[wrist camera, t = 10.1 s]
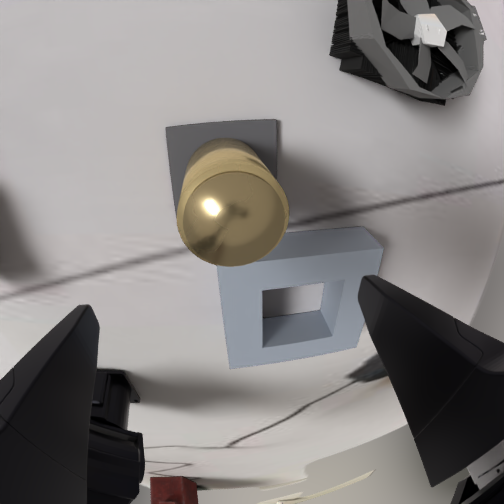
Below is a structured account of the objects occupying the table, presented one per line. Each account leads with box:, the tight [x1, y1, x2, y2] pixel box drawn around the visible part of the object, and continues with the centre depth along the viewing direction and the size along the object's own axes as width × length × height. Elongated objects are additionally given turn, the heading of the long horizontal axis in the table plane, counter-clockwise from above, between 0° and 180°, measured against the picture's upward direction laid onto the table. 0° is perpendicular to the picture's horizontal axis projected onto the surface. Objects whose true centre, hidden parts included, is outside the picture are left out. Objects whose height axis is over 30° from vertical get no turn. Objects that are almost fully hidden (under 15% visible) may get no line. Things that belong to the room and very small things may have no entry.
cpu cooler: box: [329, 0, 487, 106], centre depth 12 cm, size 10×6×10 cm
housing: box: [217, 227, 384, 369], centre depth 24 cm, size 11×12×4 cm
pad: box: [166, 119, 277, 218], centre depth 19 cm, size 7×7×1 cm
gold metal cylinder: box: [177, 138, 289, 267], centre depth 16 cm, size 5×5×7 cm
